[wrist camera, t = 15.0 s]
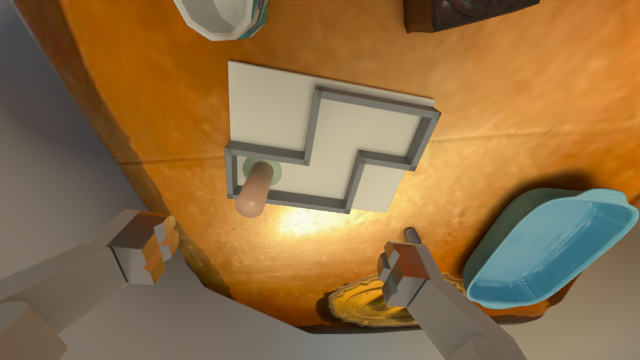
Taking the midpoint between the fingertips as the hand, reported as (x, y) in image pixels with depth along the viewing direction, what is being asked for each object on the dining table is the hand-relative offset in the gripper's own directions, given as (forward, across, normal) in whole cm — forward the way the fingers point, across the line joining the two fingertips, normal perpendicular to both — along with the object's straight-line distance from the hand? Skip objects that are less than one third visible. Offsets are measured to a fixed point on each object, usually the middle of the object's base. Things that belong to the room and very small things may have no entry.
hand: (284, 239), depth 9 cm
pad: (+30, +6, +16) cm, 34 cm away
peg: (+30, +6, +16) cm, 34 cm away
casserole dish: (+32, -53, +25) cm, 67 cm away
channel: (+31, -4, +10) cm, 33 cm away
